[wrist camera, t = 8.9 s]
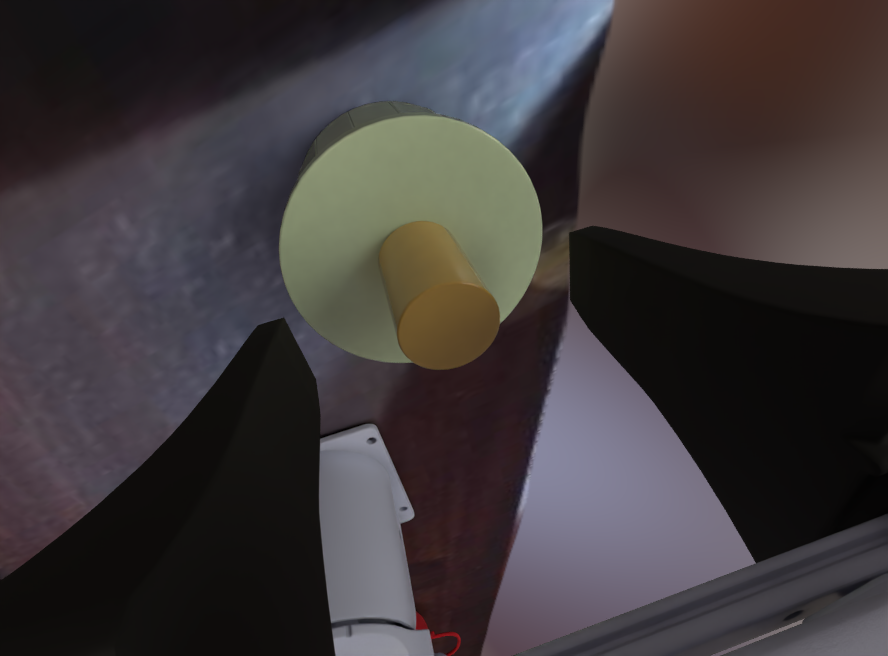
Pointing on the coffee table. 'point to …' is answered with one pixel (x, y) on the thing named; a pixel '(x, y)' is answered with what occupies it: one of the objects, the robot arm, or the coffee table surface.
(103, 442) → the coffee table surface
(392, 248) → the lid
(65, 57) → the coffee table surface
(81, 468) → the coffee table surface
